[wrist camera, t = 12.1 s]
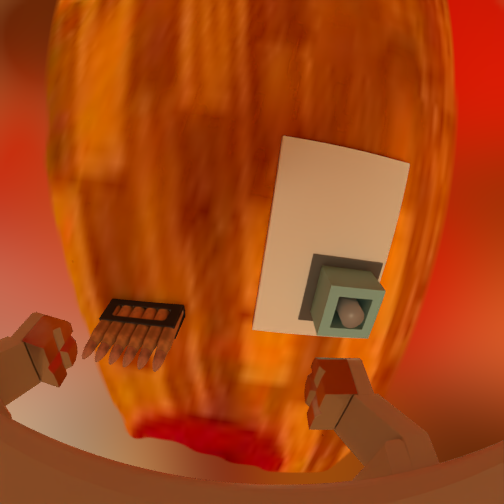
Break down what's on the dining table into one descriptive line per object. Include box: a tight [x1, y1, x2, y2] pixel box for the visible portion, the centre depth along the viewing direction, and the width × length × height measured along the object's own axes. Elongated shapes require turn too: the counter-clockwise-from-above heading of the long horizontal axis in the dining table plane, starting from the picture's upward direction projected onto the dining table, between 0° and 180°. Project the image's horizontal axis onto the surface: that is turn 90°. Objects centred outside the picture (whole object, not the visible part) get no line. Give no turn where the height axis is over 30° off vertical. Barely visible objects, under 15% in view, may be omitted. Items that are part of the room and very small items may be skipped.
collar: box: [310, 265, 385, 338], centre depth 34 cm, size 6×6×5 cm
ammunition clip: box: [82, 299, 185, 372], centre depth 34 cm, size 11×2×12 cm, turn 88°
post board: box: [252, 136, 410, 338], centre depth 33 cm, size 24×15×8 cm, turn 172°
